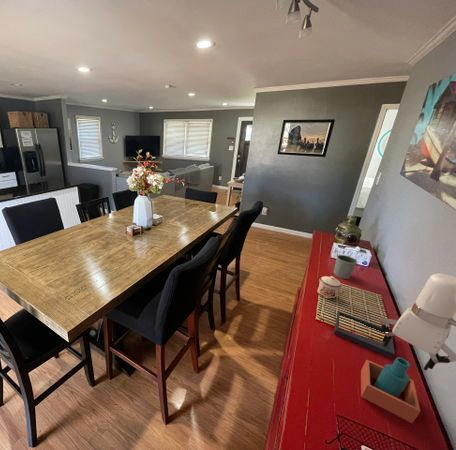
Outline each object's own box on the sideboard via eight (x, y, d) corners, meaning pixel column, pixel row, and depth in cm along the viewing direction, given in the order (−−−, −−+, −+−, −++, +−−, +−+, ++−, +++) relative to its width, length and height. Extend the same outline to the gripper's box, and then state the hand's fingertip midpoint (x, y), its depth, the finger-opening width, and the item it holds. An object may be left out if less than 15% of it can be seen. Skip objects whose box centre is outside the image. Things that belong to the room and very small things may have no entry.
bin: (406, 391, 84) (413, 380, 82) (412, 423, 75) (420, 411, 73) (360, 370, 91) (366, 359, 89) (361, 396, 82) (367, 385, 80)
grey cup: (353, 281, 147) (360, 264, 143) (334, 277, 150) (340, 261, 145) (347, 272, 156) (353, 256, 152) (329, 269, 159) (334, 253, 154)
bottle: (394, 393, 84) (414, 360, 78) (396, 407, 79) (417, 374, 73) (372, 382, 87) (389, 350, 81) (373, 395, 83) (391, 362, 77)
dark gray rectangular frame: (388, 335, 108) (391, 330, 107) (392, 358, 96) (395, 354, 95) (336, 314, 119) (338, 310, 118) (333, 334, 108) (335, 329, 107)
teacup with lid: (316, 295, 133) (322, 278, 128) (316, 287, 140) (322, 270, 135) (342, 304, 127) (350, 286, 122) (342, 295, 134) (348, 277, 129)
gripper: (479, 329, 65) (447, 372, 71) (396, 293, 78) (375, 332, 85) (474, 340, 61) (441, 385, 68) (387, 300, 75) (367, 341, 81)
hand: (404, 355), depth 76 cm, fingers open, 9 cm apart
